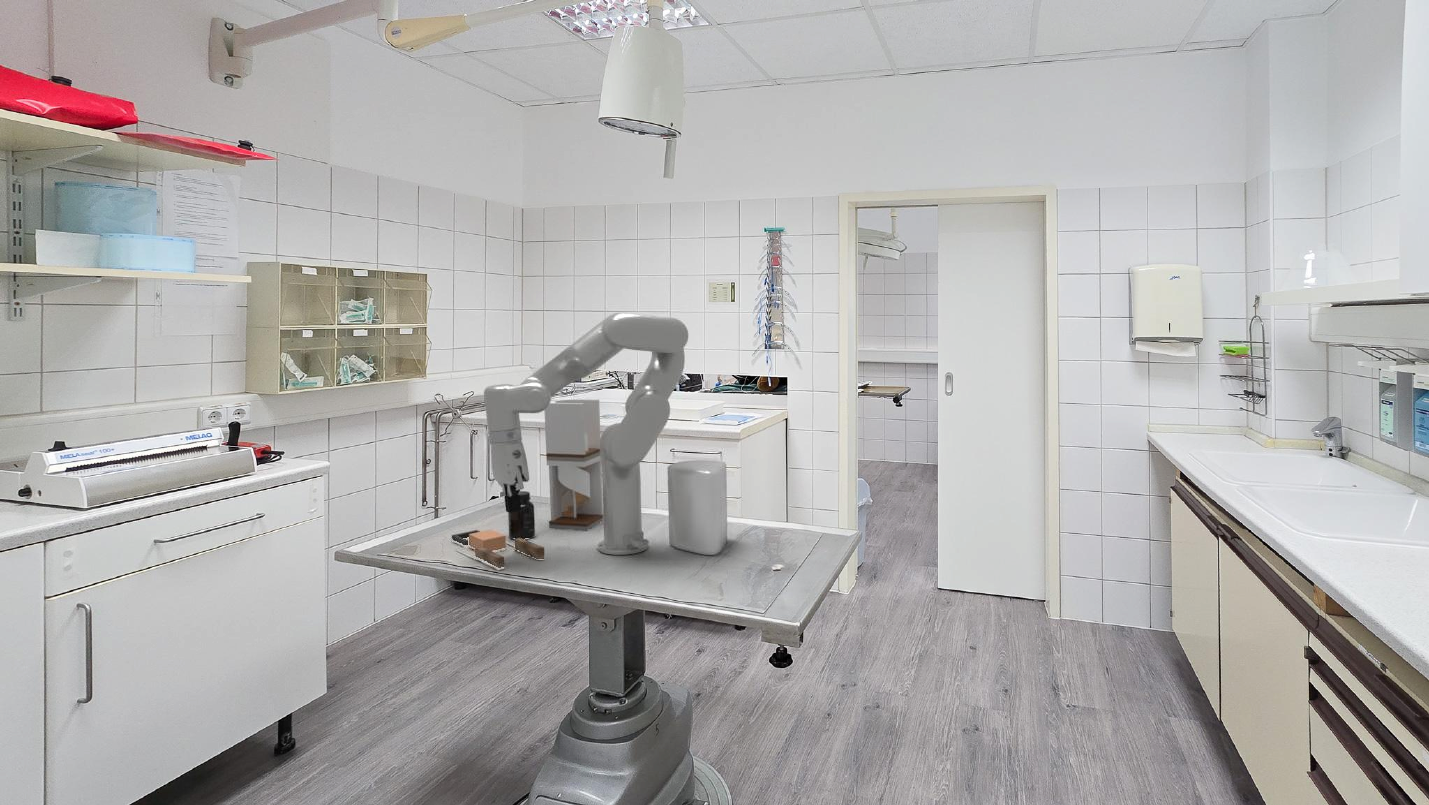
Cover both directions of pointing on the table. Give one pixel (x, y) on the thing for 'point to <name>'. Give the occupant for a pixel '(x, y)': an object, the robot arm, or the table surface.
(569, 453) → the display case
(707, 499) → the grey rounded upright block
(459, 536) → the black u-shaped bracket
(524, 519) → the supplement bottle
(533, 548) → the channel
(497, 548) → the block
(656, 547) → the table surface
